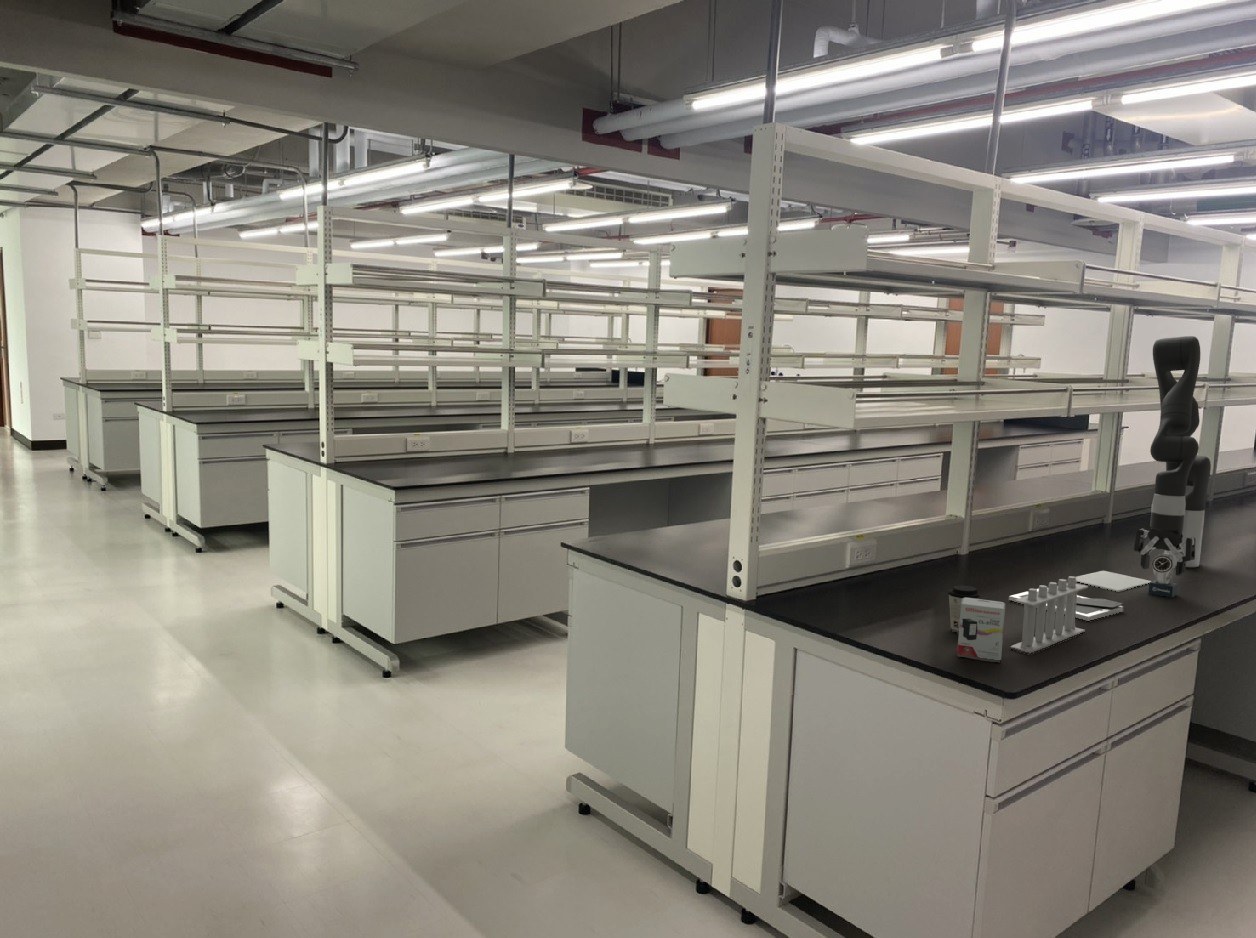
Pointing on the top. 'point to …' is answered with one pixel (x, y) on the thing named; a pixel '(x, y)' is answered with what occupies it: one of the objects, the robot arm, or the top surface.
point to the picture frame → (1086, 606)
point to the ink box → (981, 628)
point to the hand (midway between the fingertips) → (1161, 572)
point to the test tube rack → (1049, 614)
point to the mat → (1111, 581)
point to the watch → (1163, 576)
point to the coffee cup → (959, 602)
